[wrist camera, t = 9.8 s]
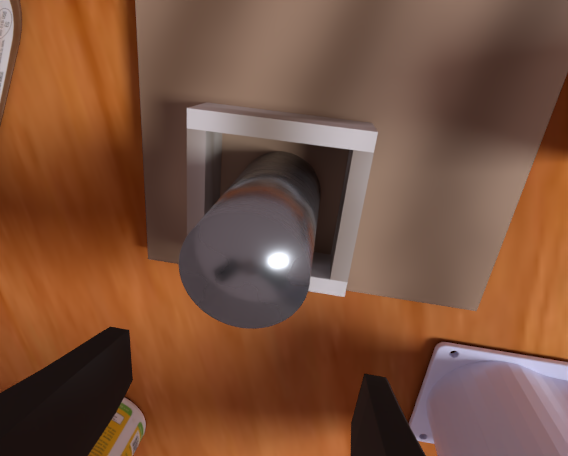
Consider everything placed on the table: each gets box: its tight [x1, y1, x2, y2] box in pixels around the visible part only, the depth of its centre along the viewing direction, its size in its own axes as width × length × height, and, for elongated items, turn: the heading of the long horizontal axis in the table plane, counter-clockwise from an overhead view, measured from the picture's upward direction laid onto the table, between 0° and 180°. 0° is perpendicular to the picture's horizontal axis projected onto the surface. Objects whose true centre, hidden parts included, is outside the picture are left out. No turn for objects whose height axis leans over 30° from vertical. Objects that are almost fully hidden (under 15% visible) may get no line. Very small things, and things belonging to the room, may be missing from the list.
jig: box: [135, 0, 568, 311], centre depth 17 cm, size 18×16×4 cm
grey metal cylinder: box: [179, 151, 321, 328], centre depth 15 cm, size 4×4×8 cm
